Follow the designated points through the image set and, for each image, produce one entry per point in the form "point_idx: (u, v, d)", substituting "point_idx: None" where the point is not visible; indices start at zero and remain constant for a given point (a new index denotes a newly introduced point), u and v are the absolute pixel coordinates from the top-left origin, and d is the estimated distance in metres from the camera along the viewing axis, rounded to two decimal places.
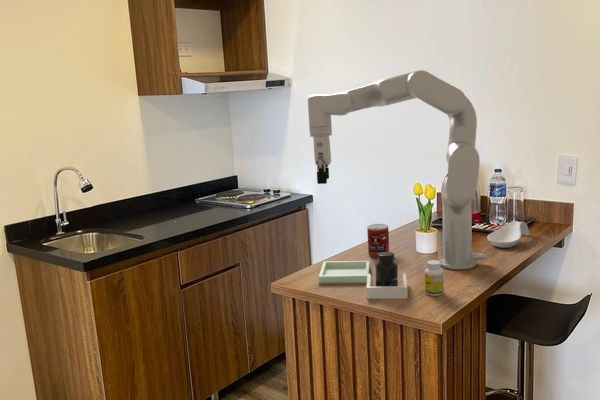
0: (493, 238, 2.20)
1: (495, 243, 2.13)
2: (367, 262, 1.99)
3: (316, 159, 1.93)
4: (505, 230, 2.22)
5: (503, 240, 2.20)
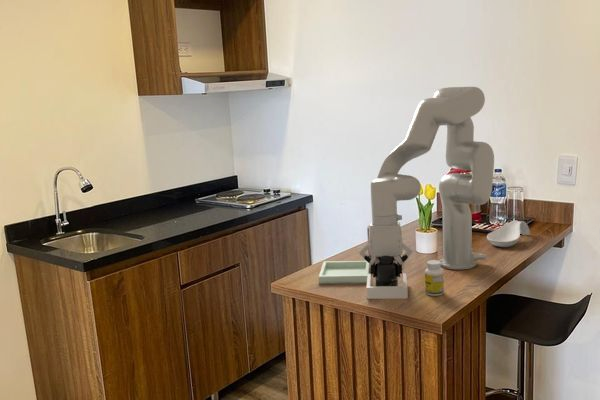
0: (493, 237, 2.21)
1: (494, 242, 2.14)
2: (367, 262, 1.99)
3: (401, 251, 1.74)
4: (505, 230, 2.22)
5: (503, 239, 2.20)
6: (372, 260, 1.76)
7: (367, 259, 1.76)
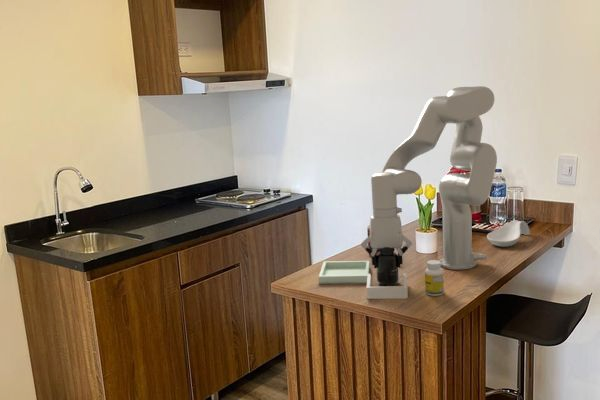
0: (493, 237, 2.21)
1: (494, 242, 2.14)
2: (367, 262, 1.99)
3: (401, 242, 1.80)
4: (505, 229, 2.23)
5: (503, 239, 2.21)
6: (373, 252, 1.82)
7: (368, 251, 1.83)
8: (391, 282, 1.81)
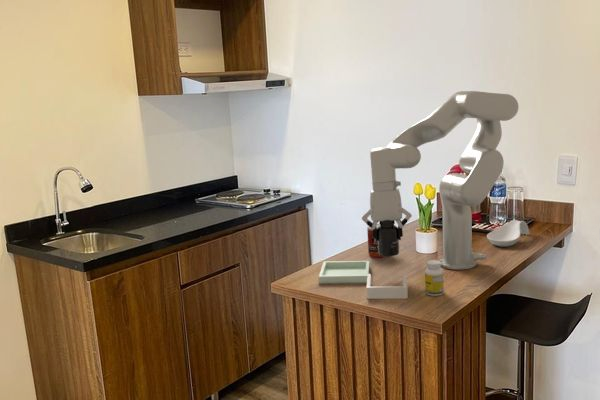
0: (493, 237, 2.21)
1: (494, 242, 2.15)
2: (367, 262, 1.99)
3: None
4: (504, 229, 2.23)
5: (503, 239, 2.21)
6: (374, 225, 1.87)
7: (369, 224, 1.88)
8: (392, 254, 1.86)
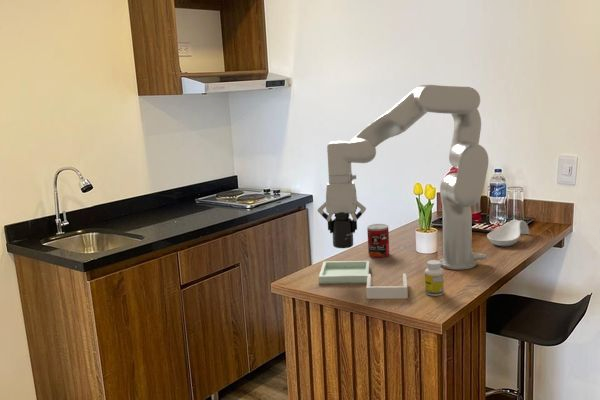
0: (493, 237, 2.22)
1: (495, 241, 2.15)
2: (367, 262, 1.99)
3: (355, 208, 1.88)
4: (505, 229, 2.23)
5: (503, 239, 2.21)
6: (329, 217, 1.90)
7: (324, 216, 1.91)
8: (345, 246, 1.90)
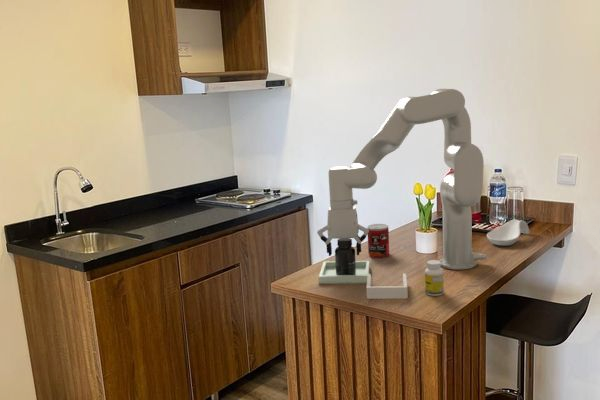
0: (493, 236, 2.22)
1: (494, 241, 2.16)
2: (367, 262, 1.99)
3: (357, 231, 1.90)
4: (504, 228, 2.24)
5: (502, 238, 2.22)
6: (328, 240, 1.92)
7: (323, 239, 1.93)
8: (348, 274, 1.91)
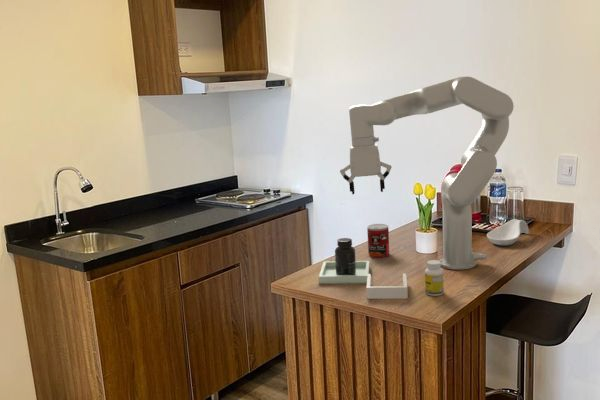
0: (493, 236, 2.23)
1: (494, 241, 2.16)
2: (367, 262, 1.99)
3: (380, 167, 1.92)
4: (504, 228, 2.24)
5: (503, 238, 2.22)
6: (350, 178, 1.94)
7: (346, 178, 1.95)
8: (348, 274, 1.91)
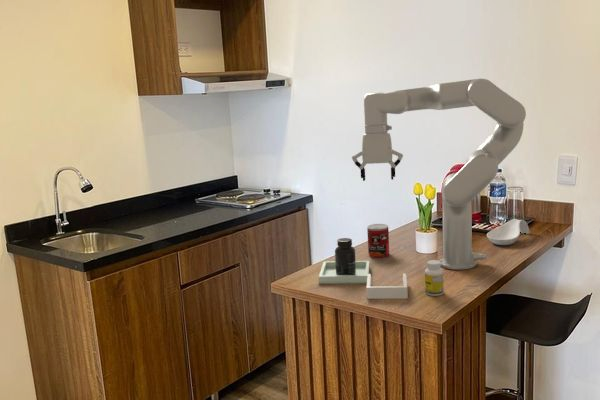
0: (493, 236, 2.23)
1: (494, 241, 2.16)
2: (367, 262, 1.99)
3: (391, 155, 1.95)
4: (504, 228, 2.25)
5: (502, 238, 2.23)
6: (362, 165, 1.97)
7: (357, 164, 1.98)
8: (348, 274, 1.91)
